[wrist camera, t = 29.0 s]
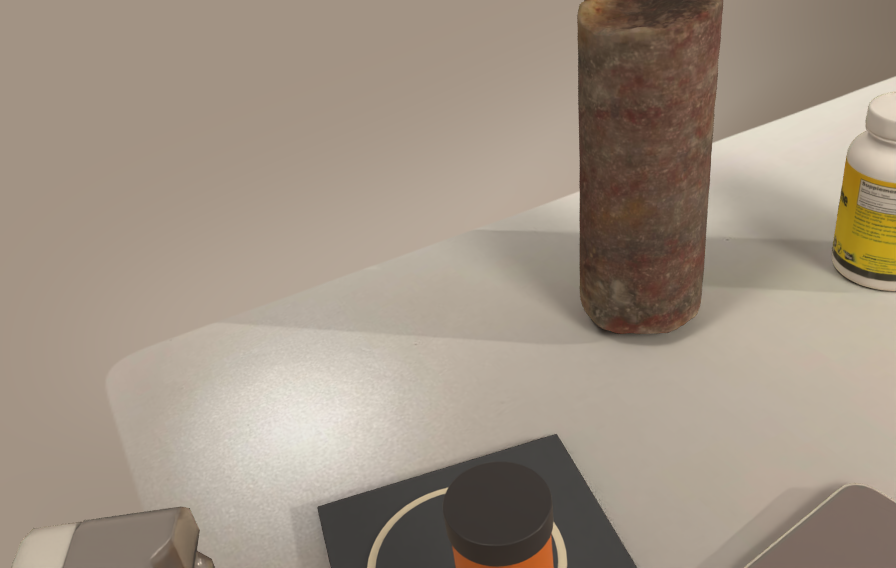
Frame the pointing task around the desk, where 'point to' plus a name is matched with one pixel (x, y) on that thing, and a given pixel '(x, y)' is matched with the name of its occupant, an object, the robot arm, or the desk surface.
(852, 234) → the pill bottle
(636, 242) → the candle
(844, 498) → the smartphone
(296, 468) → the desk surface
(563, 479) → the pad
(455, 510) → the marker
